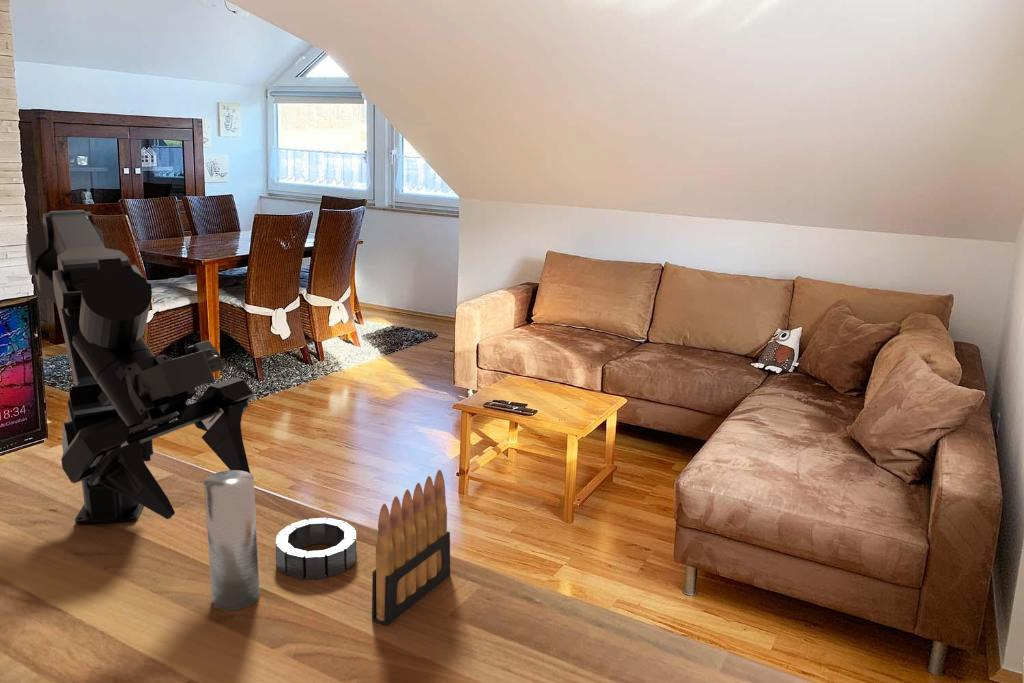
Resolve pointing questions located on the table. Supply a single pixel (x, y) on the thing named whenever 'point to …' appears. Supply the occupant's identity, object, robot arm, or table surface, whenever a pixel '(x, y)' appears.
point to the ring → (316, 561)
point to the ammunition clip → (410, 550)
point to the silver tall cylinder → (232, 539)
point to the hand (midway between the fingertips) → (211, 497)
